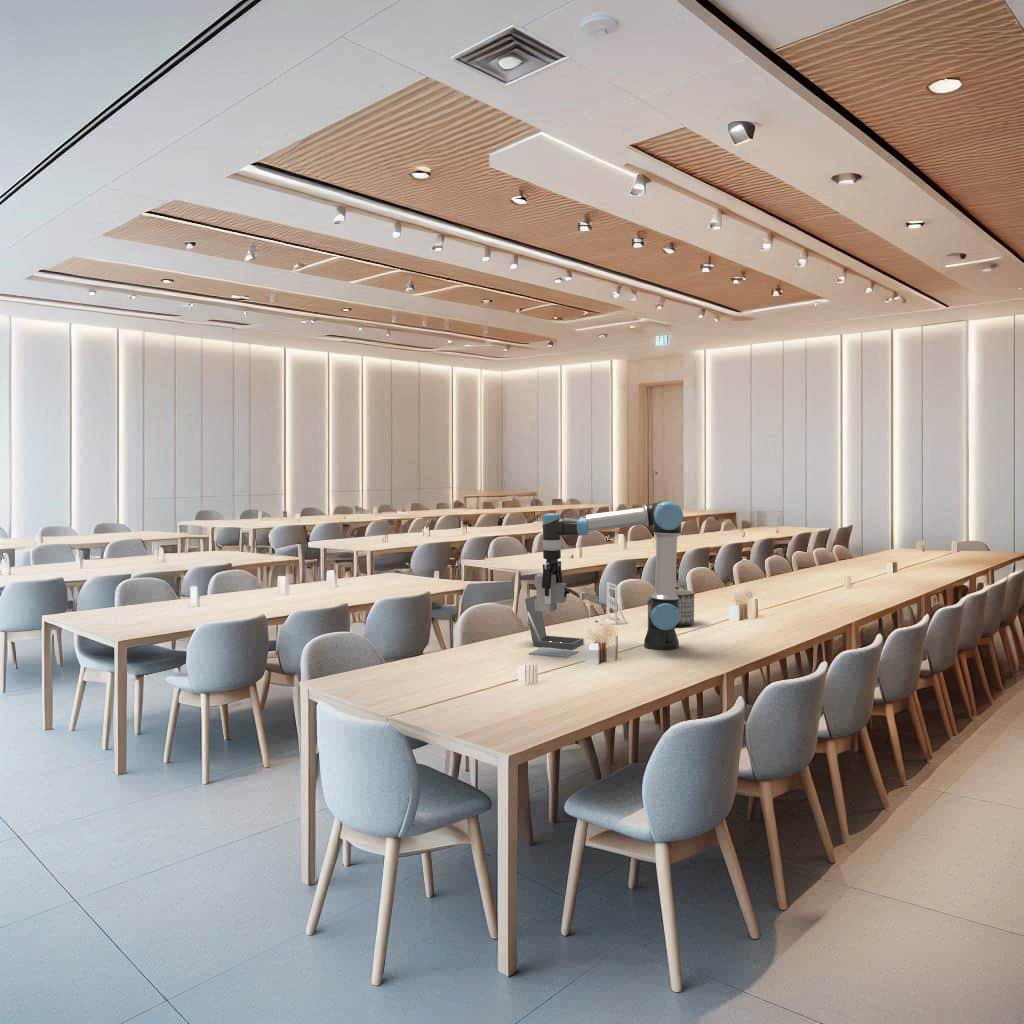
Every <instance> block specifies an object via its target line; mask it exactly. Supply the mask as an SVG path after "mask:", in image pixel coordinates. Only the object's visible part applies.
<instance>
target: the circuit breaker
mask: <svg viewBox="0 0 1024 1024" xmlns="http://www.w3.org/2000/svg"><path fill="white" fill-rule="evenodd" d="M542 577H543V573H537V574H536V575H534V583H533V585H534V587H536V595H537V599H536V600H535V611H542V612H555V611H556V609H558V604H564V603H565V602H566V601H567V600H568V599H567V597H568V595H569V594H570V590H567V582H563V583H556V574H552V576H551V585H550V588H551V604H545V588H542ZM557 603H558V604H557Z"/></svg>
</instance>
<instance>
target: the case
mask: <svg viewBox="0 0 1024 1024" xmlns="http://www.w3.org/2000/svg"><path fill="white" fill-rule="evenodd" d="M536 599H537V594H535V595H532V596H530V597H526V598H524V601H525V607H526V615H527V617H528V624H529V629H530V635H531V640H532V646H533V647H539V648H548V649H559V650H570V651H574V649H577V648H579V647H581V646H582V645H584V644H585V643H584V642H585V639H584V638H580V637H570V636H569V637H568V636H557V635H547V632H546V631H547V630H546V627H545V620H544V614H543V611H535V600H536ZM549 641H552V642H549ZM560 642H562V643H560Z"/></svg>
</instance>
